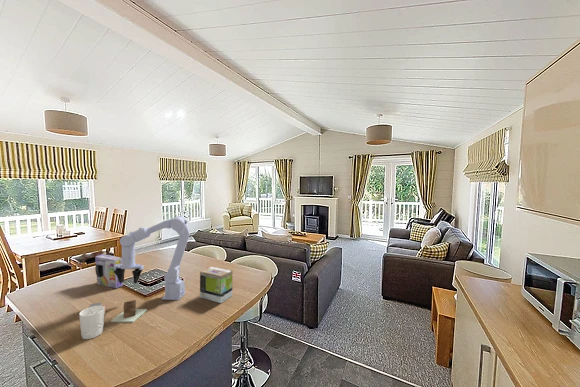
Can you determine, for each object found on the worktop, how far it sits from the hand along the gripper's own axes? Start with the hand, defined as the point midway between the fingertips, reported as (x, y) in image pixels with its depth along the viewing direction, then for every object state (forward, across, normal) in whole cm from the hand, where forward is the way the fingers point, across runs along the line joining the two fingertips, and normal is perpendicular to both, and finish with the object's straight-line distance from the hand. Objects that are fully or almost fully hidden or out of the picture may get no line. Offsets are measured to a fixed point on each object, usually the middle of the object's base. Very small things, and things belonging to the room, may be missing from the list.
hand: (128, 282), depth 123 cm
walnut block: (+9, -10, +13) cm, 19 cm away
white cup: (+10, -4, +27) cm, 29 cm away
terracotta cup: (+10, +3, +15) cm, 18 cm away
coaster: (+10, -10, +14) cm, 20 cm away
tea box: (+10, -44, -7) cm, 46 cm away
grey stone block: (+10, +8, +12) cm, 18 cm away
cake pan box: (+10, +25, -18) cm, 32 cm away
